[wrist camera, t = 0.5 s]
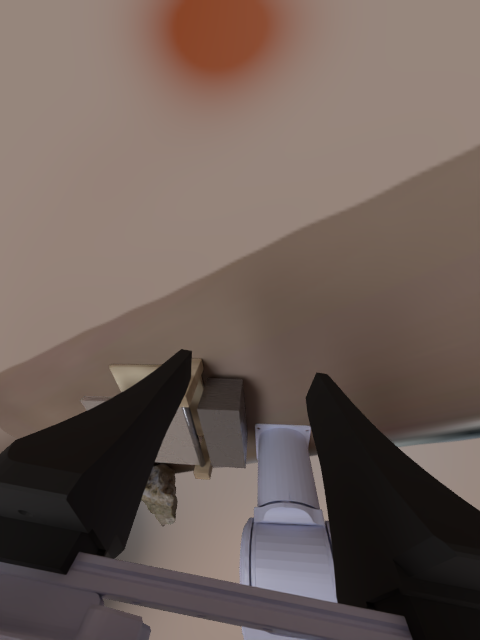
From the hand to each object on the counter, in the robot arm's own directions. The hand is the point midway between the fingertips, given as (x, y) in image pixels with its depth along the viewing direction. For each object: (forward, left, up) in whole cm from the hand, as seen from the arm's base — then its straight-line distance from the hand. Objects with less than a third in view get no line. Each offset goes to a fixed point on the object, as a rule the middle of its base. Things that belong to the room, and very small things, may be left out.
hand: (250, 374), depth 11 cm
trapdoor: (-15, +8, -5) cm, 17 cm away
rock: (-27, +18, -7) cm, 33 cm away
